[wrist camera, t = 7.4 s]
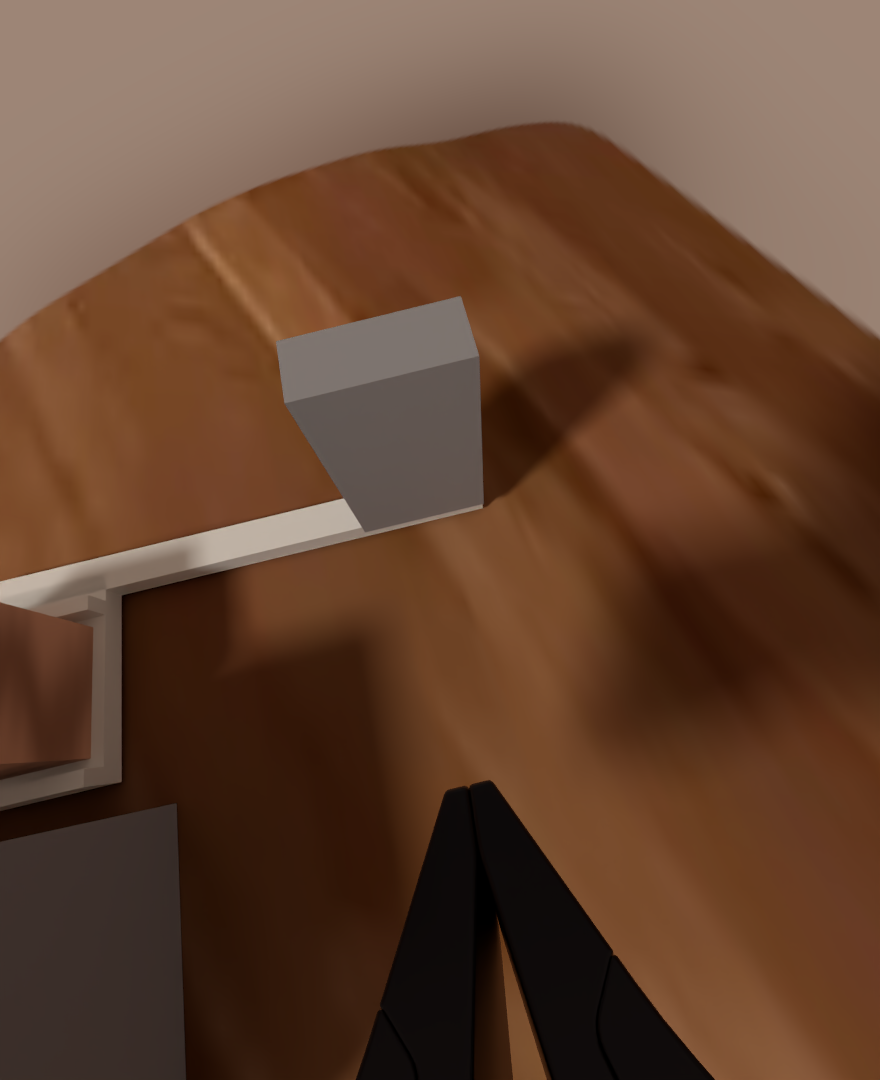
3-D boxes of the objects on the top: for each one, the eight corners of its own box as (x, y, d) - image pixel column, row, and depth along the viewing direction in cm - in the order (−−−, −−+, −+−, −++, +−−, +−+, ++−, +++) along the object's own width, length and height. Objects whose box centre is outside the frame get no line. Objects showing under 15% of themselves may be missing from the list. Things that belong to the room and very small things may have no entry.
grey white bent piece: (531, 684, 20) (567, 640, 10) (-31, 818, 20) (-489, 892, 11) (473, 473, 23) (460, 296, 14) (-10, 589, 23) (-344, 492, 14)
